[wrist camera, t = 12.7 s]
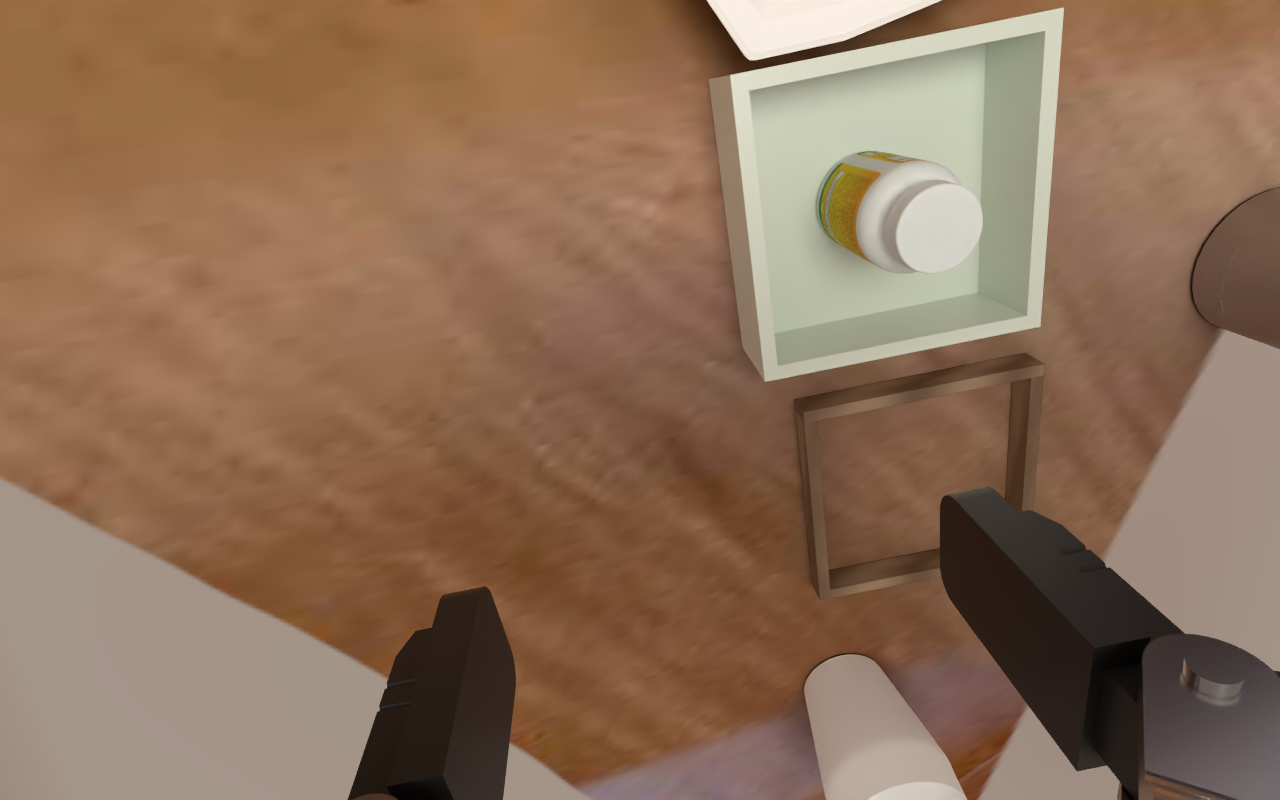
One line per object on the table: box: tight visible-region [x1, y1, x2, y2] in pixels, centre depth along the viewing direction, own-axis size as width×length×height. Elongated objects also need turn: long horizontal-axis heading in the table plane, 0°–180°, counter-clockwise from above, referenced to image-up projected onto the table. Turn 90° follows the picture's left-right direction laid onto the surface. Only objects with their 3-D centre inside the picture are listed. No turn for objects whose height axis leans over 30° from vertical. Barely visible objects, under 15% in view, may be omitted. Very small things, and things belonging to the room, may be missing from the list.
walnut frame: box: [794, 353, 1044, 600], centre depth 46 cm, size 16×16×2 cm
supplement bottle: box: [817, 151, 983, 274], centre depth 34 cm, size 5×5×10 cm
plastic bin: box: [708, 8, 1064, 382], centre depth 36 cm, size 16×16×6 cm
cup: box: [804, 654, 967, 800], centre depth 50 cm, size 9×9×12 cm
